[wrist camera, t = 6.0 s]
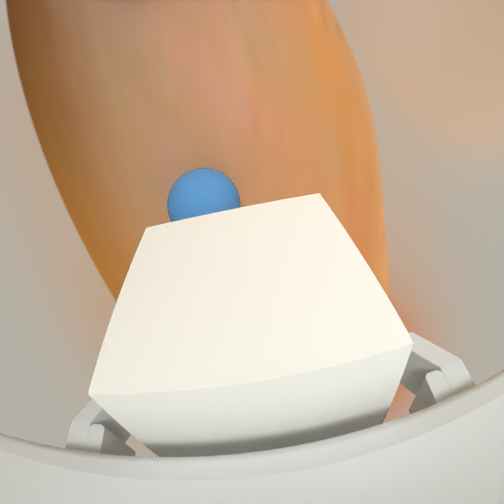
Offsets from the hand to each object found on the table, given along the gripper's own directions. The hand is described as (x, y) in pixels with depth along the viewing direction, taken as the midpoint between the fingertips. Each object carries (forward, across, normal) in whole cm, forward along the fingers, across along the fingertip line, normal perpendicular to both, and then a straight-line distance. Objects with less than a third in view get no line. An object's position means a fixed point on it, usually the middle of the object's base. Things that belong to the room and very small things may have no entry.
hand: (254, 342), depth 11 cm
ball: (+12, +2, 0) cm, 13 cm away
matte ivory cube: (+4, 0, 0) cm, 4 cm away
